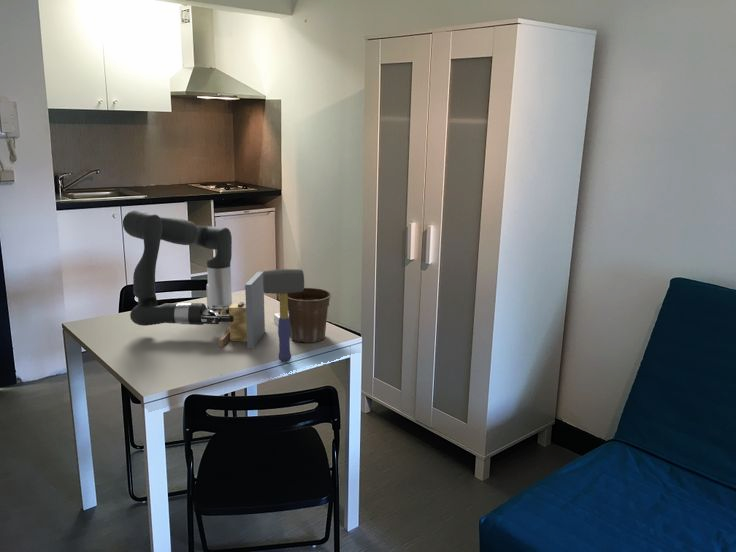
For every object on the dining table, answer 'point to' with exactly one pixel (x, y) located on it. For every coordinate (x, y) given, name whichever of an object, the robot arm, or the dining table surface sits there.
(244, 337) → the ochre block
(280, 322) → the rubber mallet
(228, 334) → the wall board
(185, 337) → the dining table surface
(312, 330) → the plant pot
